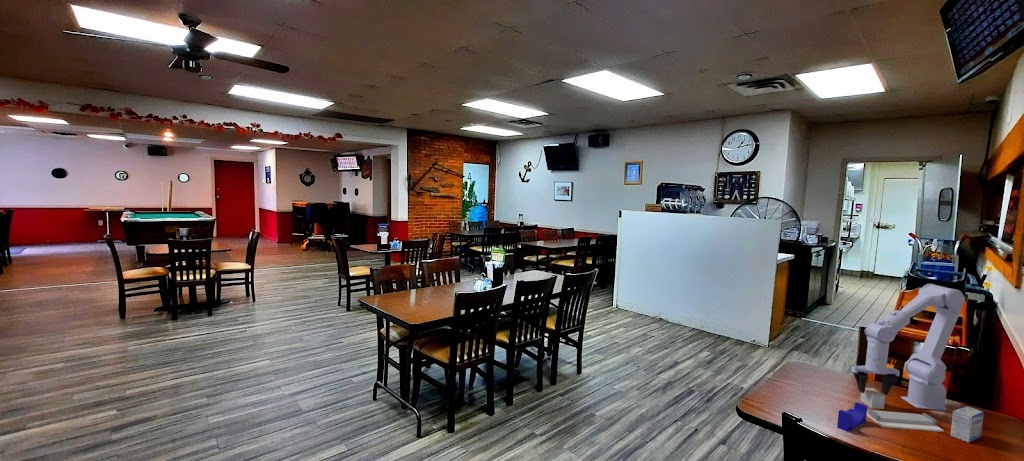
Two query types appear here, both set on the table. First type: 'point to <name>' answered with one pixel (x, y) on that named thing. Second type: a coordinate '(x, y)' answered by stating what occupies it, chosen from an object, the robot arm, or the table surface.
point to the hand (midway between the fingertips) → (872, 392)
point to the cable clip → (852, 417)
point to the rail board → (904, 420)
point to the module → (873, 398)
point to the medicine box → (967, 424)
